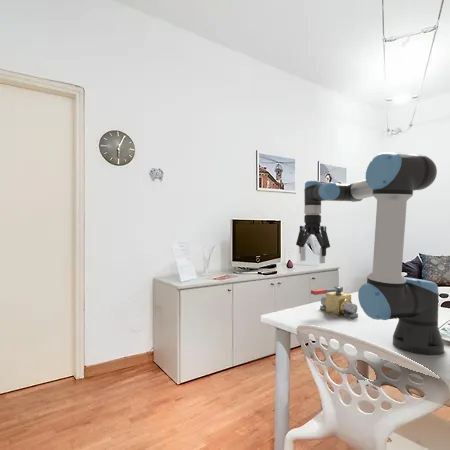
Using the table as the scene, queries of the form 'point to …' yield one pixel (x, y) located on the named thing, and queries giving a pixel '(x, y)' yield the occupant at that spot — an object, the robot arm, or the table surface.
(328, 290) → the lever
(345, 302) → the valve
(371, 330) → the table surface
